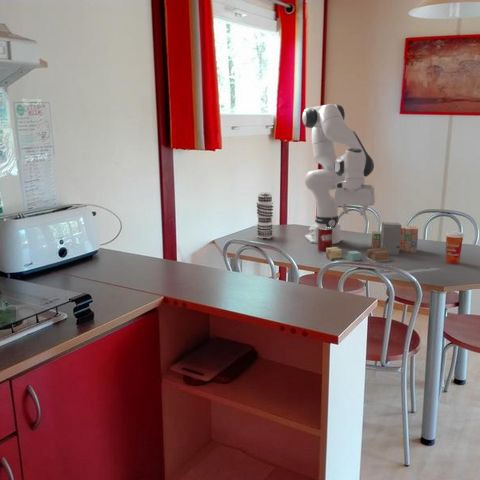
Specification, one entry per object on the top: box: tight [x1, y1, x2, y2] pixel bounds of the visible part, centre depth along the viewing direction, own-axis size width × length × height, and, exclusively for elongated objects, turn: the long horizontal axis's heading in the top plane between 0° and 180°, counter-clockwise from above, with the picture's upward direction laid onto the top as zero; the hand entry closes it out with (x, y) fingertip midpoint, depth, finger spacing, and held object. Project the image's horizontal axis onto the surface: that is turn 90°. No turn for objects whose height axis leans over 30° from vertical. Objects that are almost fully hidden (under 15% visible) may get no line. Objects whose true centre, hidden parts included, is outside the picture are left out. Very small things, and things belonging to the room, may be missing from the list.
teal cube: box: [346, 250, 362, 262], centre depth 249 cm, size 4×4×4 cm
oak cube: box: [325, 246, 343, 261], centre depth 253 cm, size 6×6×5 cm
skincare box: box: [380, 221, 402, 256], centre depth 258 cm, size 8×7×16 cm
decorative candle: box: [256, 191, 274, 239], centre depth 297 cm, size 9×9×25 cm
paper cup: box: [445, 230, 465, 265], centre depth 244 cm, size 8×8×14 cm
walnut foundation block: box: [366, 248, 389, 262], centre depth 248 cm, size 7×7×4 cm
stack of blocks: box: [371, 225, 419, 254], centre depth 267 cm, size 21×6×12 cm, turn 82°
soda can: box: [317, 227, 333, 253], centre depth 266 cm, size 7×7×12 cm
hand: (354, 214), depth 245 cm, fingers open, 8 cm apart
